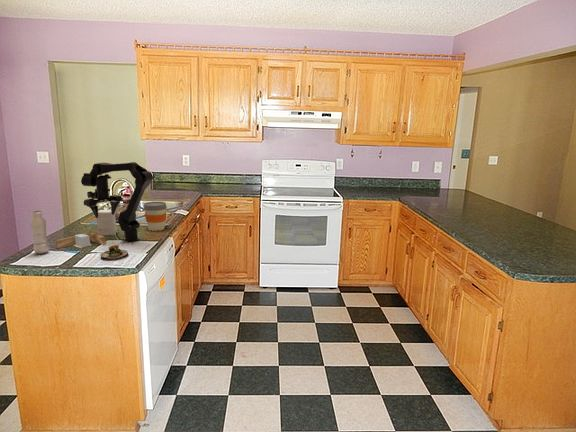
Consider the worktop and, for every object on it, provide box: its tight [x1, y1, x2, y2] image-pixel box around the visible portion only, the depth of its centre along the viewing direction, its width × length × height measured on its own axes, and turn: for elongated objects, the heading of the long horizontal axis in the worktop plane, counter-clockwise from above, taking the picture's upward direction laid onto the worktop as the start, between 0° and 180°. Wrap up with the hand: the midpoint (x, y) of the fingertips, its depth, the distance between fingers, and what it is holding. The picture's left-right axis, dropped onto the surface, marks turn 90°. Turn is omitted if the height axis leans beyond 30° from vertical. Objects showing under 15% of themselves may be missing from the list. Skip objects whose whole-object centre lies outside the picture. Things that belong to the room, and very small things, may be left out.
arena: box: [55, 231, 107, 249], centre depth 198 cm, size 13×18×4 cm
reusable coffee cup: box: [143, 201, 167, 232], centre depth 231 cm, size 13×13×15 cm
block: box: [74, 233, 91, 248], centre depth 199 cm, size 4×6×5 cm, turn 57°
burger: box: [100, 240, 129, 260], centre depth 184 cm, size 12×12×8 cm
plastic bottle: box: [29, 210, 50, 255], centre depth 185 cm, size 6×7×20 cm
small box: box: [96, 209, 118, 236], centre depth 219 cm, size 8×6×13 cm
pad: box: [73, 243, 92, 249], centre depth 200 cm, size 6×6×1 cm
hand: (104, 216), depth 210 cm, fingers open, 9 cm apart
